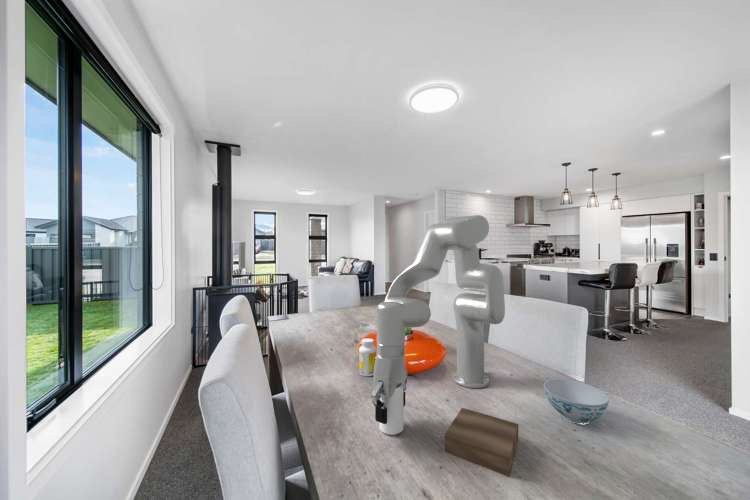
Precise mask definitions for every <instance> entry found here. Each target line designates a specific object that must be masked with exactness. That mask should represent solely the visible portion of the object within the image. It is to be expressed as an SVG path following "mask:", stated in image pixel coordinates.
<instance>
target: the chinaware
mask: <svg viewBox="0 0 750 500" xmlns="http://www.w3.org/2000/svg"><path fill="white" fill-rule="evenodd" d="M543 389H544V393H545V395H546V398H547V400H548V401H549V403H550V405H551V406H552V407H553V408H554V410H556V411H557V412H558V413H559V414H560V416H561V417H563V418H562V419H564V418H565V419H566V420H565V419H564V420H565V421H567V420H568V421H571V422H575V423H583V424H584V423H588V422H589V421H590V422H593V421H595V420H597V419H599V418H600V417H602V416H603V415H604V413H605V412H606V410H607V409H608V406H609V403H610V398H609V396H608V394H606V393H605V392H604V391H602V390H601V389H599V388H598V387H595V386H593V385H590V384H588V383H584V382H582V381H576V380H572V379H565V378H553V379H547V380H545V382H544V383H543ZM568 421H567V422H568ZM571 422H570V423H571Z"/></svg>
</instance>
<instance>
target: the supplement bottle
mask: <svg viewBox="0 0 750 500" xmlns="http://www.w3.org/2000/svg"><path fill="white" fill-rule="evenodd" d="M358 349H359V350H358V356H359V357H358V360H359V361H358V363H359V364H358V366H359V367H358V369H359V375H361V376H362V377H374V366H375V357H376V356H377V346H375V345H374V339H373V338H363V339H361V346H360V347H359V348H358Z"/></svg>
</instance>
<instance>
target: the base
mask: <svg viewBox="0 0 750 500" xmlns="http://www.w3.org/2000/svg"><path fill="white" fill-rule="evenodd" d="M443 439H444V441H443V442H444V445H443V446H444V448H443V449H444V452H445V453H447V454H449V455H451V456H455V457H458V458H460V459H462V460H464V461H467V462H469V463H472V464H475V465H477V466H480V467H483V468H485V469H488V470H490V471H493V472H495V473H498V474H501V475H504V476H506V477H508V478H510V477H511V473H512V468H513V464H514V459H515V456H516V451H517V447H518V444H519V423H516V422H513V421H509V420H506V419H502V418H499V417H496V416H493V415H489V414H485V413H483V412H479V411H475V410H472V409H469V408H465V407H461V408H460V410H459V411H458V413H457V414H456V416H455V418H454V419H453V420H452V422H451V424H450V425H449V427H448V429H447V430H446V431H445V433H444V438H443Z"/></svg>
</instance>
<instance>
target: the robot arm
mask: <svg viewBox="0 0 750 500" xmlns="http://www.w3.org/2000/svg"><path fill="white" fill-rule="evenodd" d="M489 232H490V224H489V221H488V219H487V218H486V217H485V216H483V215H480V214H474V215H465V216H456V217H455V216H453V217H447V218H444V219H442V220H440V221H439V222H437V223H434V224H431V225H429V226H428V227H427V228H426V230H425V232H424V234H423V235H422V240H421V242H420V244H419V246H418V249H417V252H416V255H415V257H414V259H413V262H412V263H411V264H409V266H408V267H407V268H405V269H404V270H403V271H402V272H401V273H400V274H399V275H398V276H396V278H395V279H394V280H392V281H393V282H391V285H390V287H389V288H388V291H387V294H386V296H385V298H384V301H382V302H380V303H378V304H377V307H376V360H375V366H374V375H373V379H372V380H373V381H372V384H373V387H372V393H371V394H370V398H371V401H372V405H373V406H374V408H375V409H374V410H375V413H374V414H375V419H374V420H375V421H376V422H378V423H379V422H380V423H383V424H387V408H386V404H387V401H388V398H390V397H392V396H393V394H394V391H395V389H396V388H397V387H399V386H400V385H401V383H402V387H403V408H404V407H405V406H406V391H407V386H406V384H407V381H408V380H407V378H408V374H409V372H408V370H407V369H406V358H405V356H406V329H408V328H409V329H411V328H420V327H423V326H425V325H426V324H427V323H428V322H429V321H430V319H431V308H430V306H429V305H428V304H427V302H426V301H425V302H424V301H423V300H421V299H415V298H411V297H410V298H409V297H407V294H408V293H409V292H410V291H411V290H412V289H413V288H415V287H416V286H418V285H419V284H421V283H424V282H426V281H429V280H431V279H433V278H435V277H437V276H438V275H439V274H440V273H441V270H442V267H443V264H444V261H445V258H446V254H447V253H448V251H451V250H452V251H453V256H454V270H455V272H454V273H455V279H456V284H457V287H458V288H460V289H461V290H464V291H465V290H466V291H471V292H464V293H459V294H458V295H457V296H456V297H455V298H454V300H453V312H454V316H455V323H456V324H455V325H456V371H455V372H453V374H452V380H453V382H455V383H456V384H457V385H460V386H461V387H466V388H469V389H470V388H471V389H481V388H485V387H488V386H489V384H490V378H489V377H488V376H487V375H486V374H485V332H484V329H483V327H482V324H481V323H484V324H490V325H499V324H501V323H502V322H503V321H504V319H505V316H506V315H505V314H506V313H505V312H506V303H505V286H504V276H503V272H502V270H501V269H500V268H499V267H498V266H497V265H494V264H486V263H485V264H484V263H483V264H482V263H481V262H480V255H479V252H480V251H479V248H478V246H477V244H479V243H481V242H483V241H484V240H485V239H486V238H487V237H488V235H489ZM473 292H482V293H484V294H480V293H473ZM382 392H384V393H385V394H386V395H385V394H382ZM380 397H383V398H384V400H383V403H382V402H381V401H380Z"/></svg>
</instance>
